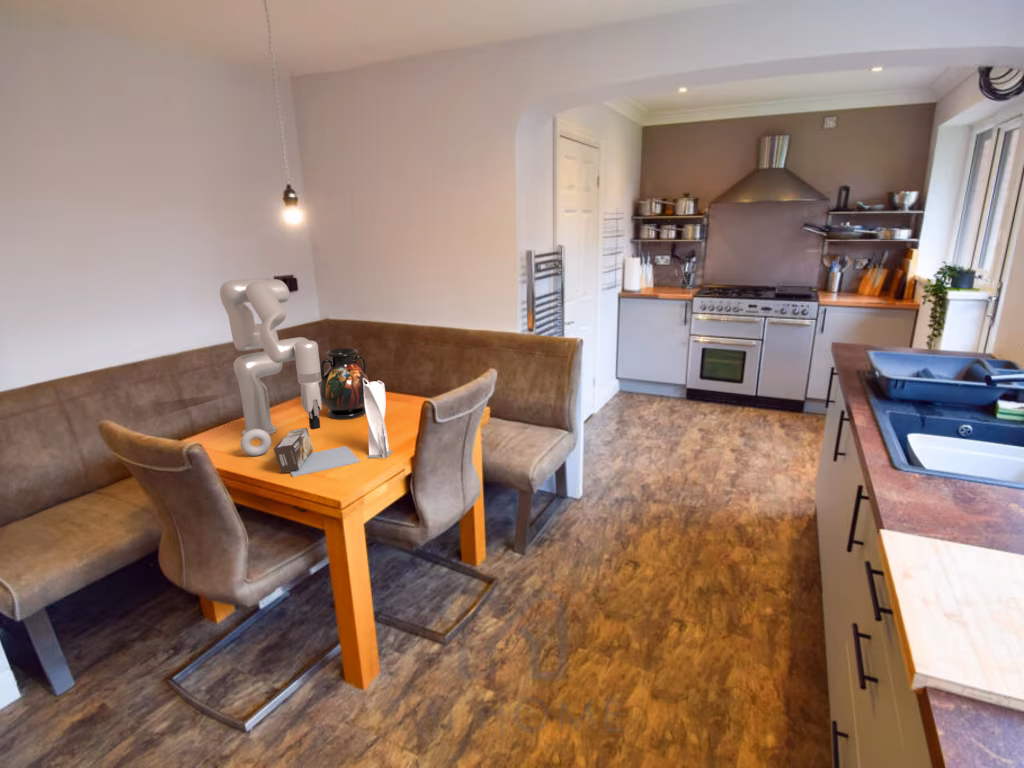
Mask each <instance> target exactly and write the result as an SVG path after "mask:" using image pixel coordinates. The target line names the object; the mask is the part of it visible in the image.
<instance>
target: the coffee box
mask: <svg viewBox="0 0 1024 768" xmlns="http://www.w3.org/2000/svg"><path fill="white" fill-rule="evenodd" d="M310 437H311V436H310V434H309V430H308V427H302V428H298V429H293V430H290V431H289V432H288V433H287V434H286V435H285V436H284V437H283V438H282V439H281V440H280V441H279V442H278V443H277V444H276V445H275V447H273V451H274V455H275V457H276V459H277V465H278V467H279V470H280V473H287V472H290V471H293V470H297V469H299V468H300V467H301V466H302V465H303V463H304V462H305V461H306V459H307V458H308V457H309V455H310V454H311V453H314V452H313V451H314V448H313V444H312V441H311V438H310Z"/></svg>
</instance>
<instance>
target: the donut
mask: <svg viewBox="0 0 1024 768" xmlns="http://www.w3.org/2000/svg"><path fill="white" fill-rule="evenodd" d="M255 439H258V440H259V441H261V442H260V444H259V445H257V446H255V445H252V441H253V440H255ZM271 445H272V438H271V436H270V435H269V434H268V433H267V432H265V431H264V430H261V429H252V430H249V431H248V432H246V433H245V434H244V435H242V436H241V439H240V447H241V450H242V451H243V452H244V454H247V455H248V456H252V457H259V456H262V455H264V454H266V453H267V452H268V451H269V450H270V449H271Z"/></svg>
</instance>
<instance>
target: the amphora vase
mask: <svg viewBox="0 0 1024 768" xmlns="http://www.w3.org/2000/svg"><path fill="white" fill-rule="evenodd" d="M358 353H359V351H358V350H357V349H354V348H350V347H349V348H347V347H346V348H345V347H344V348H335V349H330V350H328V351H327V352H326V354H325V356H327V357H329V358H331V359H329V358H325V359H322V360H321V363H320V371H321V380H322V381H321V382H320V383H319V388H320V395H321V404H323V406H325V407H326V408H327V410H328V411H327V415H328V416H329V417H330V418H331V419H335V420H336V419H337V420H350V419H355V418H360V417H362V416H364V415H366V410H365V403H364V387H363V380H362V379H363V378H365V379H366V380H367V381H368V382H369V383H370V382H371V381H370V380H369V378H368V374H367V364H366V359H365V357H364V356H363V355H361V354H358ZM357 354H358V355H357ZM358 359H360V360H361V363H362V368H361V367H359V366H358V365H357V360H358ZM325 363H329V365H330V366H329V368H328V369H327V371H326V372H325V371H324V367H325ZM366 380H364V383H365V384H368V383H367V382H366Z"/></svg>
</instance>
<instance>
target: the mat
mask: <svg viewBox="0 0 1024 768" xmlns="http://www.w3.org/2000/svg"><path fill="white" fill-rule="evenodd" d="M357 462H359V463H360V459H359V458H358V457H357V456H356V455H355V453H354V452H353V451H352V450H351V449H350V448H349V447H348V446H347V445H343V446H340V447H335V448H330V449H329V448H328V449H325V450H320V451H315V452H312V453H311V454H310V455H309V457H308V458H307V459H306V461H305V462H304V463H303V465H302V466H301V467H300V468H299V469H297V470H293V471H289V473H290V475H291V476H292V478H294V477H299V476H304V475H308V474H312V473H317V472H322V471H326V470H327V471H328V470H331V469H337V468H340V467H344V466H349V464H350V465H353V463H354V464H358V463H357Z"/></svg>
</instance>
